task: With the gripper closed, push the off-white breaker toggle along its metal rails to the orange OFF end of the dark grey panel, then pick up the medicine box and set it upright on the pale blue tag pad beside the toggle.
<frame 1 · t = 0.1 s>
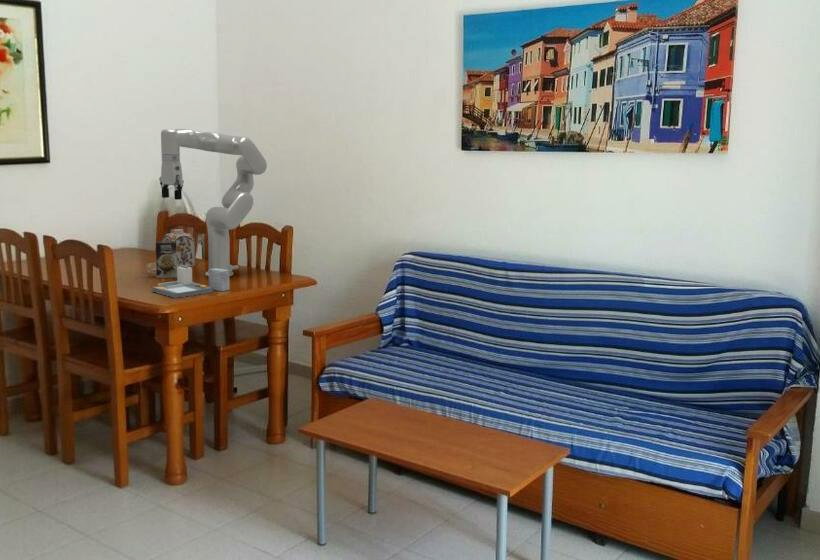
hand: (171, 198, 349), 37 cm above the table, tool pointing down, fingers open, 9 cm apart
toggle: (184, 274, 340), point 6 cm above the table, slide at 0.0 cm
medicine box: (219, 290, 342), on the table
coffee box: (166, 277, 367), on the table
panel: (182, 292, 335), on the table
decorative jar: (179, 266, 394), on the table
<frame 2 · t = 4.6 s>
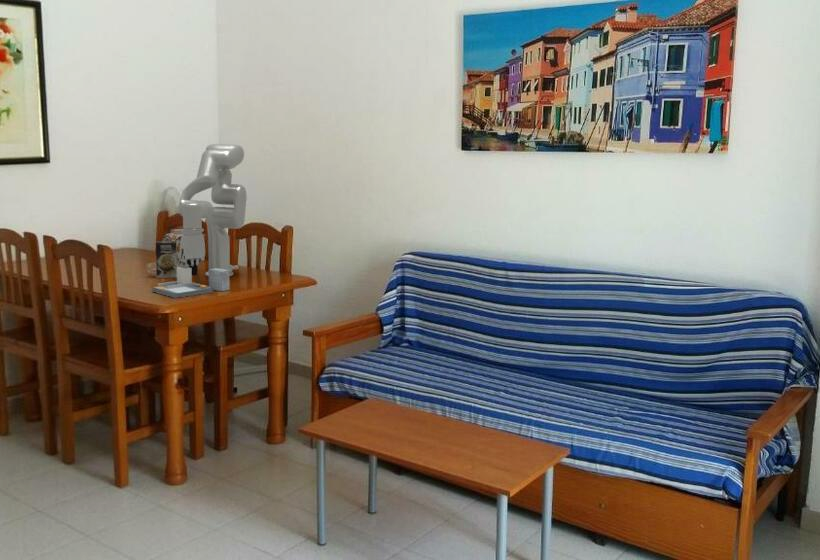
hand: (193, 274, 343), 6 cm above the table, tool pointing down, fingers closed
toggle: (184, 274, 340), point 6 cm above the table, slide at 0.2 cm, touching gripper
everything else where it was.
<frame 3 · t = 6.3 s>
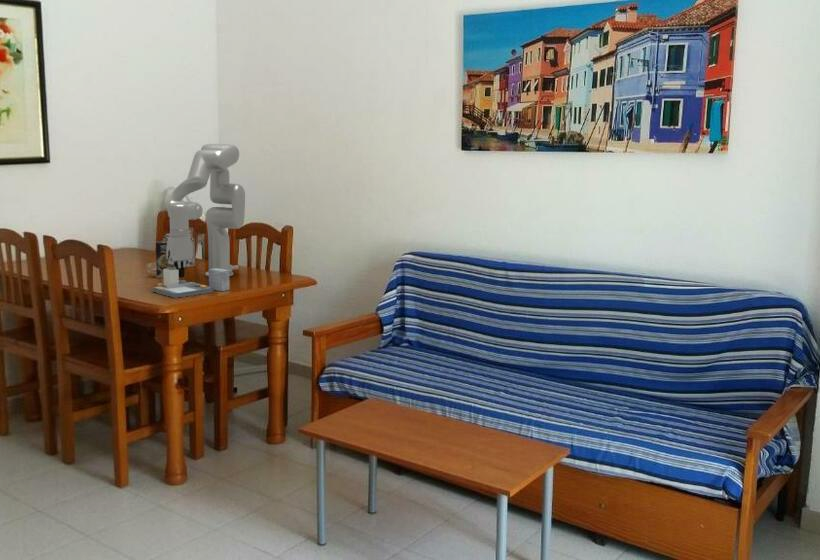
hand: (180, 276, 338), 6 cm above the table, tool pointing down, fingers closed
toggle: (171, 276, 335), point 6 cm above the table, slide at 6.5 cm
everything else where it was.
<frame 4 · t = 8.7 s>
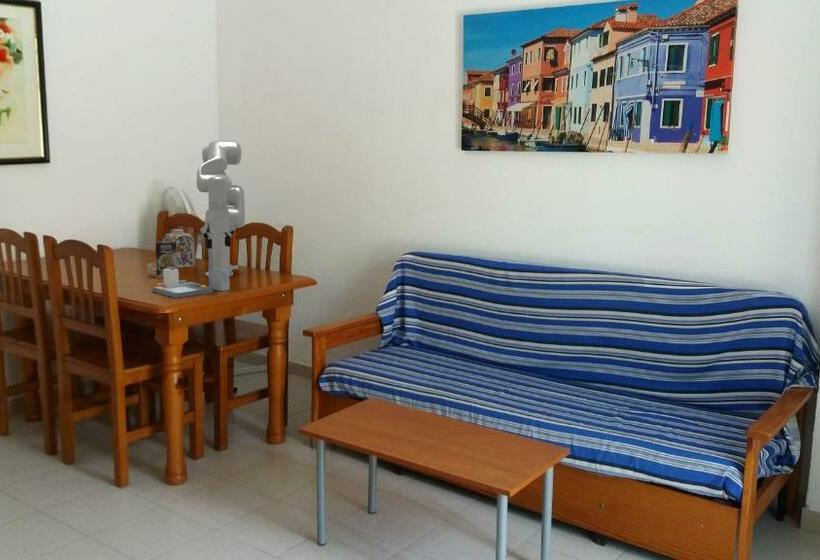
hand: (218, 247, 339), 18 cm above the table, tool pointing down, fingers open, 8 cm apart
nothing on the table moved.
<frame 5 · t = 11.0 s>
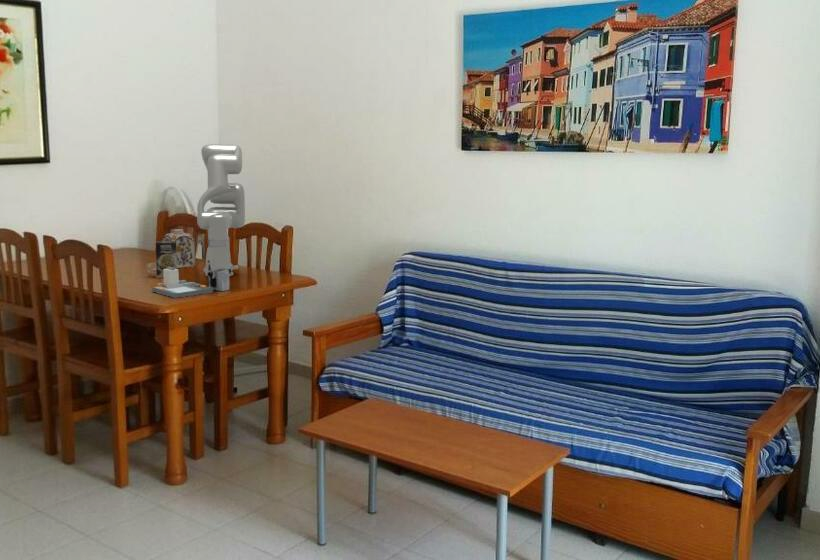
hand: (219, 285, 342), 2 cm above the table, tool pointing down, fingers closed on medicine box, 5 cm apart
medicine box: (219, 290, 342), on the table, touching gripper
everything else where it was.
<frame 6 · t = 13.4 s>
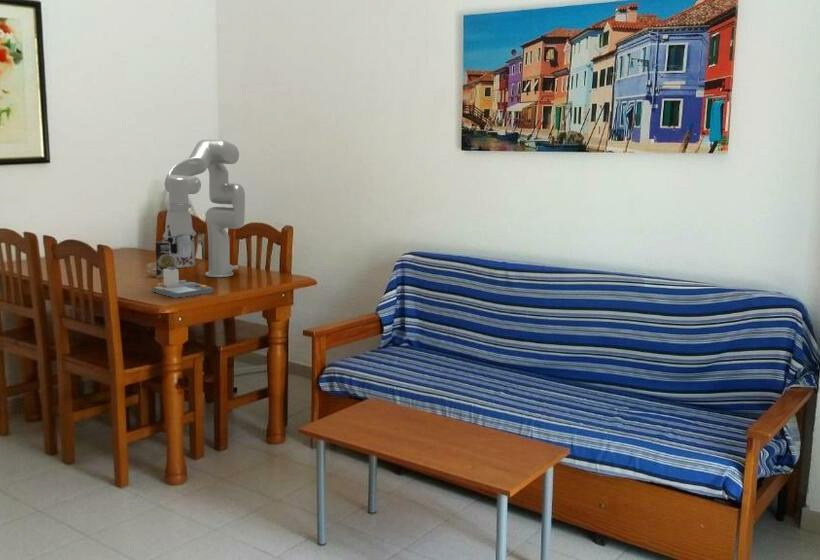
hand: (180, 252, 328), 17 cm above the table, tool pointing down, fingers closed on medicine box, 5 cm apart
medicine box: (180, 256, 328), point 16 cm above the table, touching gripper
everything else where it was.
when the fingers open (5 cm above the table, at t = 16.1 s): medicine box stays where it is, resting on panel.
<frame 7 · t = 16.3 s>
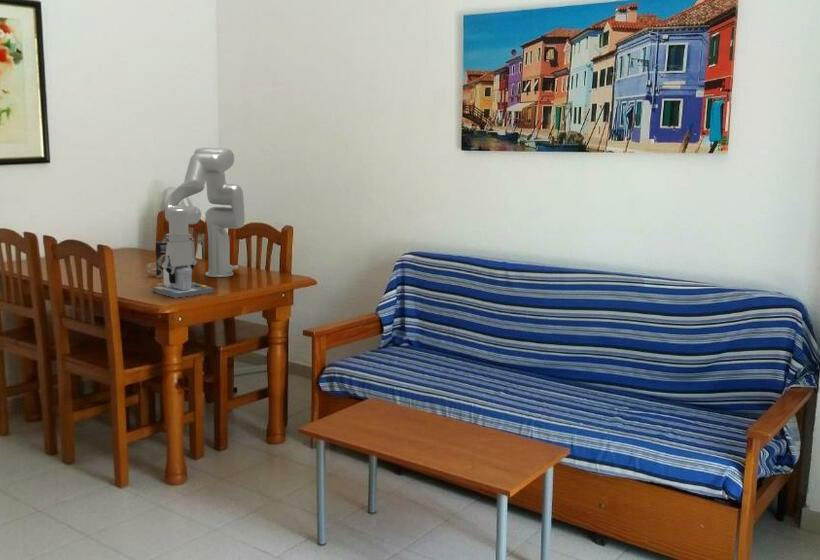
hand: (180, 281, 330), 5 cm above the table, tool pointing down, fingers open, 6 cm apart
medicine box: (180, 288, 331), point 2 cm above the table, touching panel
everything else where it was.
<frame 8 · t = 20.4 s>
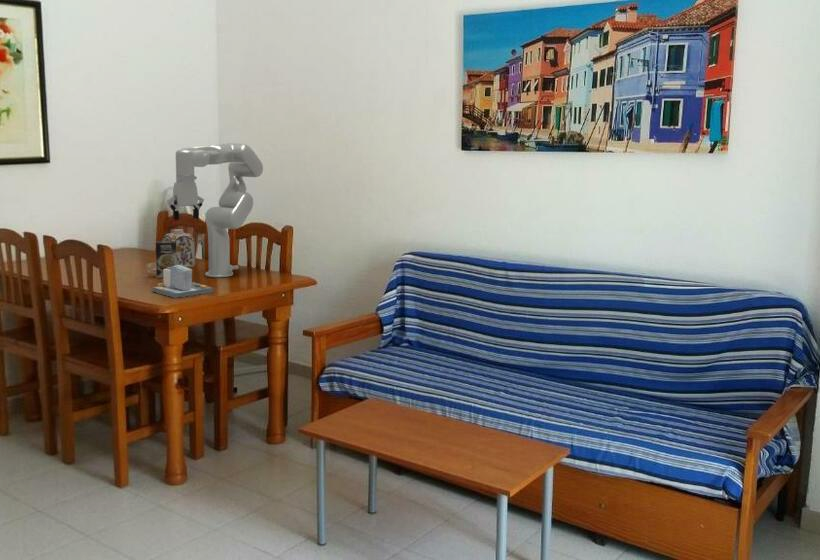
hand: (186, 219, 347), 28 cm above the table, tool pointing down, fingers open, 9 cm apart
nothing on the table moved.
at the end: toggle slide at 6.5 cm; medicine box inside the target area (0.2 cm from its centre), point 2.5 cm above the table; medicine box tilted 8° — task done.
